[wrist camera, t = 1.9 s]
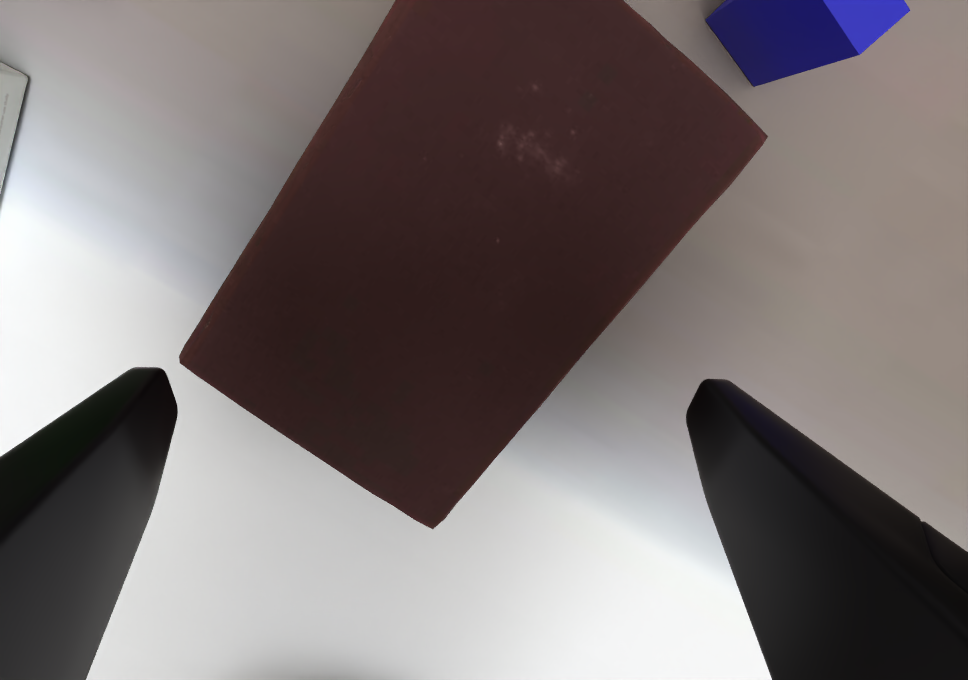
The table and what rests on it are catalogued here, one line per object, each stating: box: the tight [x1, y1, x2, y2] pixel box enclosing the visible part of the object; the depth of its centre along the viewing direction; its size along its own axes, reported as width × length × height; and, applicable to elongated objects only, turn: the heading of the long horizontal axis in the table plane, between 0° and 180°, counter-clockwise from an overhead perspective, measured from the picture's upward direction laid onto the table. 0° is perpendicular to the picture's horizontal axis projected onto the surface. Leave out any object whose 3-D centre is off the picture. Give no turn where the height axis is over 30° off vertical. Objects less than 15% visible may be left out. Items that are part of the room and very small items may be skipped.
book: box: [179, 0, 768, 529], centre depth 20 cm, size 12×19×3 cm, turn 143°
